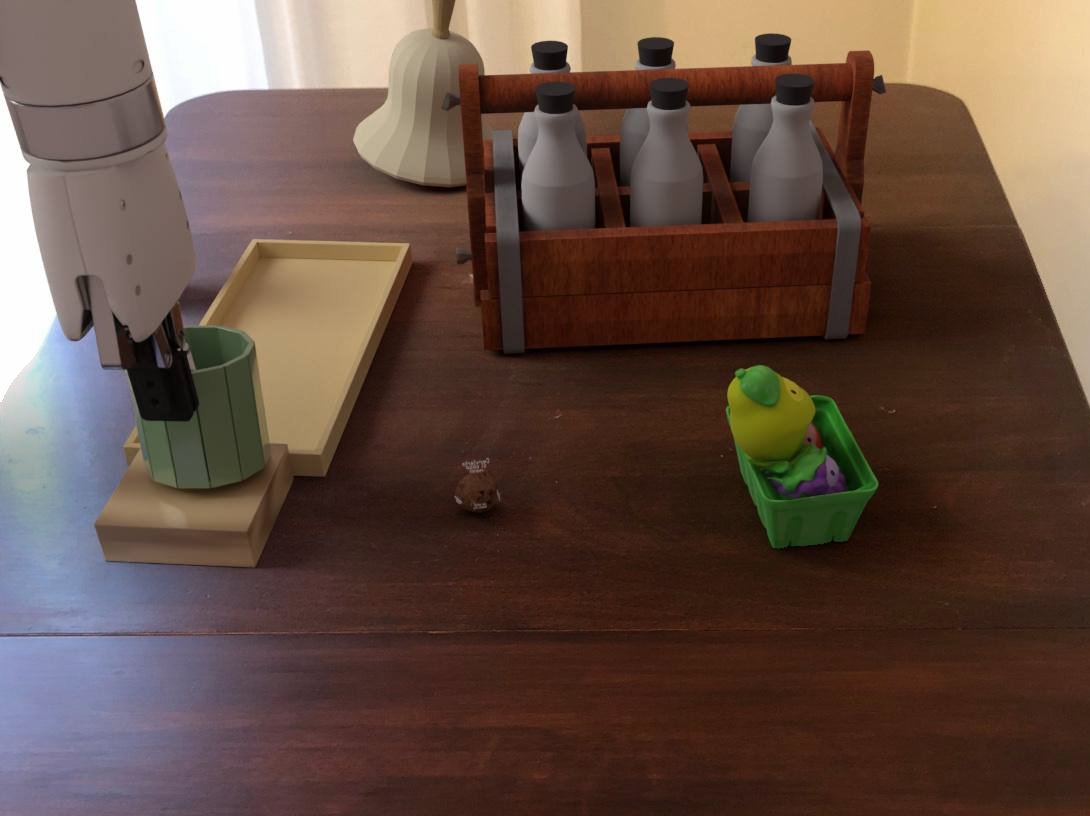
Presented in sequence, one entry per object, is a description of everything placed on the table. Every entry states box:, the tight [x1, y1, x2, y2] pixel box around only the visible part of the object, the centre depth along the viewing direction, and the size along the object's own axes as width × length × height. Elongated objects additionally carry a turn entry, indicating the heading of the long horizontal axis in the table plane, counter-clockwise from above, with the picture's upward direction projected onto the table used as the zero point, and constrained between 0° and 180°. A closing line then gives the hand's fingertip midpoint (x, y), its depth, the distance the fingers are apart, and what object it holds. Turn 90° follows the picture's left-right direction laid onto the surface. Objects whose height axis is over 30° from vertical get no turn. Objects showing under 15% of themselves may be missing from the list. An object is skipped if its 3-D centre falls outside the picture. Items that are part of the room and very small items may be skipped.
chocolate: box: [453, 457, 501, 514], centre depth 91 cm, size 3×2×4 cm
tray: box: [122, 238, 413, 478], centre depth 108 cm, size 33×14×2 cm, turn 175°
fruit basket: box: [725, 364, 879, 550], centre depth 89 cm, size 11×9×11 cm
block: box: [93, 443, 295, 568], centre depth 91 cm, size 10×10×3 cm
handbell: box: [352, 0, 494, 188], centre depth 129 cm, size 15×15×25 cm
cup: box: [124, 324, 271, 488], centre depth 89 cm, size 8×8×8 cm
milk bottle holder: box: [441, 32, 887, 355], centre depth 110 cm, size 21×35×19 cm, turn 94°
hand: (171, 413), depth 83 cm, fingers closed
